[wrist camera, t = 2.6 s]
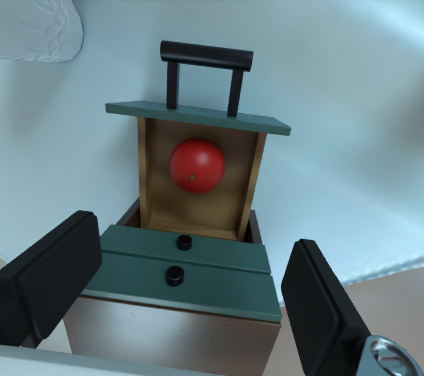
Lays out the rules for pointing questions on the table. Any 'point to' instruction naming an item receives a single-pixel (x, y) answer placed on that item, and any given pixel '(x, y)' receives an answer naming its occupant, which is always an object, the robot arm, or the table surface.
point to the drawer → (203, 128)
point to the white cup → (39, 30)
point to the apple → (196, 165)
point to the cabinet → (178, 301)
